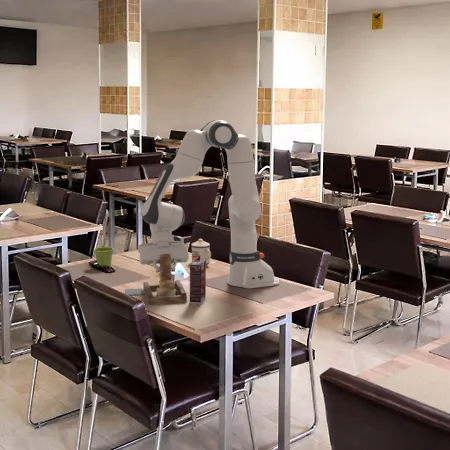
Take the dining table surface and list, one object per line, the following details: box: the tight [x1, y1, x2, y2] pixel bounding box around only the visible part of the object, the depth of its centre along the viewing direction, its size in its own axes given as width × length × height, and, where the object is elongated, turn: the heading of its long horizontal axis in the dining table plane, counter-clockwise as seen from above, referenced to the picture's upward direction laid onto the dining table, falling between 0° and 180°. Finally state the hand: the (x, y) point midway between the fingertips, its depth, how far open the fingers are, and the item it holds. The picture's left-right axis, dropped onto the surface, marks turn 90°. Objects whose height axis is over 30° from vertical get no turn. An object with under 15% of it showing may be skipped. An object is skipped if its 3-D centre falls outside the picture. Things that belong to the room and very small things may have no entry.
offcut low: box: [156, 288, 177, 296], centre depth 264 cm, size 7×5×4 cm
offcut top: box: [158, 279, 176, 291], centre depth 264 cm, size 5×4×3 cm
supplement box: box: [189, 260, 207, 305], centre depth 259 cm, size 9×5×16 cm, turn 168°
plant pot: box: [93, 246, 114, 268], centre depth 312 cm, size 9×9×9 cm
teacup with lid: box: [191, 238, 212, 265], centre depth 320 cm, size 12×9×12 cm
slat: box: [159, 254, 172, 281], centre depth 270 cm, size 4×4×16 cm
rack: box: [142, 279, 188, 305], centre depth 268 cm, size 15×20×4 cm
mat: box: [124, 287, 145, 296], centre depth 272 cm, size 7×8×1 cm
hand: (165, 271), depth 269 cm, fingers open, 5 cm apart
